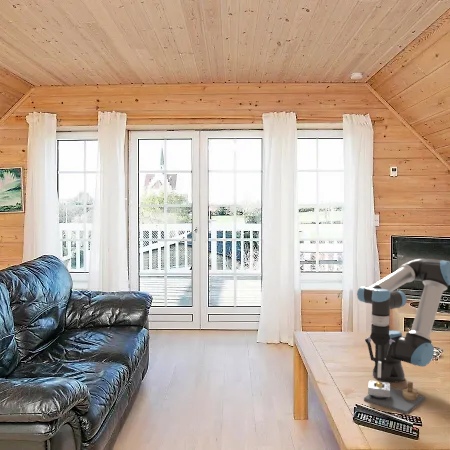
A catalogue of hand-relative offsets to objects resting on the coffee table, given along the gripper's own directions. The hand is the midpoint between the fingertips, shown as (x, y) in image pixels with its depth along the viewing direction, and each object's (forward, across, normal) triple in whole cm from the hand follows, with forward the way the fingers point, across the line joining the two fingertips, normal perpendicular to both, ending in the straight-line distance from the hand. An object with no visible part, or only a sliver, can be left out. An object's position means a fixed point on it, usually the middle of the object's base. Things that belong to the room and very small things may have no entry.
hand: (379, 376), depth 203 cm
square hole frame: (+7, 0, 0) cm, 7 cm away
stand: (+9, +13, +3) cm, 16 cm away
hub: (+9, 0, 0) cm, 9 cm away
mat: (+10, +7, +1) cm, 12 cm away
